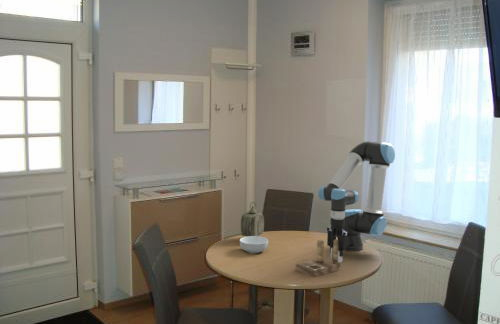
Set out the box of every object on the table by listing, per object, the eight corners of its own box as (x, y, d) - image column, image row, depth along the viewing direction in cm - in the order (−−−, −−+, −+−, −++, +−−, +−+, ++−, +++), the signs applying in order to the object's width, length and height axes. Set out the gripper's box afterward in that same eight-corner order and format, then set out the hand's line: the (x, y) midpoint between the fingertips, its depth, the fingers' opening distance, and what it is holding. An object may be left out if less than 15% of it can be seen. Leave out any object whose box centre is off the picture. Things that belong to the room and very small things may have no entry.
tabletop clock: (252, 237, 322) (252, 199, 319) (264, 239, 318) (265, 200, 315) (240, 242, 310) (240, 203, 307) (253, 245, 305) (253, 204, 302)
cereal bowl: (236, 248, 298) (236, 236, 297) (262, 246, 303) (262, 235, 302) (244, 256, 282) (244, 244, 281) (272, 254, 287) (272, 242, 286)
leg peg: (336, 264, 271) (336, 238, 269) (340, 265, 268) (341, 240, 266) (331, 265, 269) (332, 239, 267) (336, 267, 266) (336, 241, 264)
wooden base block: (320, 263, 271) (321, 238, 269) (338, 270, 260) (339, 244, 258) (295, 269, 260) (296, 243, 259) (312, 277, 250) (313, 249, 248)
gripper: (321, 215, 270) (319, 257, 273) (344, 222, 256) (343, 266, 259) (331, 214, 275) (329, 255, 277) (355, 220, 260) (353, 263, 263)
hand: (336, 260), depth 268 cm, fingers open, 4 cm apart
